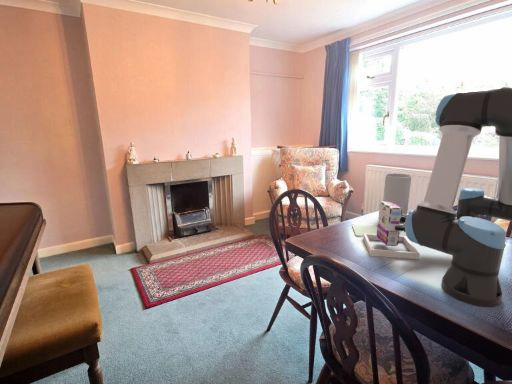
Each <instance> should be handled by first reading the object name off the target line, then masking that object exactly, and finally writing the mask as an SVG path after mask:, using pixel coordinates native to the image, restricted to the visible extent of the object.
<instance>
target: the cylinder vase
mask: <svg viewBox="0 0 512 384" xmlns="http://www.w3.org/2000/svg"><path fill="white" fill-rule="evenodd" d="M411 185H412V175H410V174H406V173H386V174H385V178H384V189H383V199H382V200H383V201H388V202H392V203H394V204H396V205H397V206H399V207H401V208H402V214H403V215H408V209H409V203H410V202H409V200H410V192H411ZM383 201H382V202H383Z"/></svg>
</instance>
